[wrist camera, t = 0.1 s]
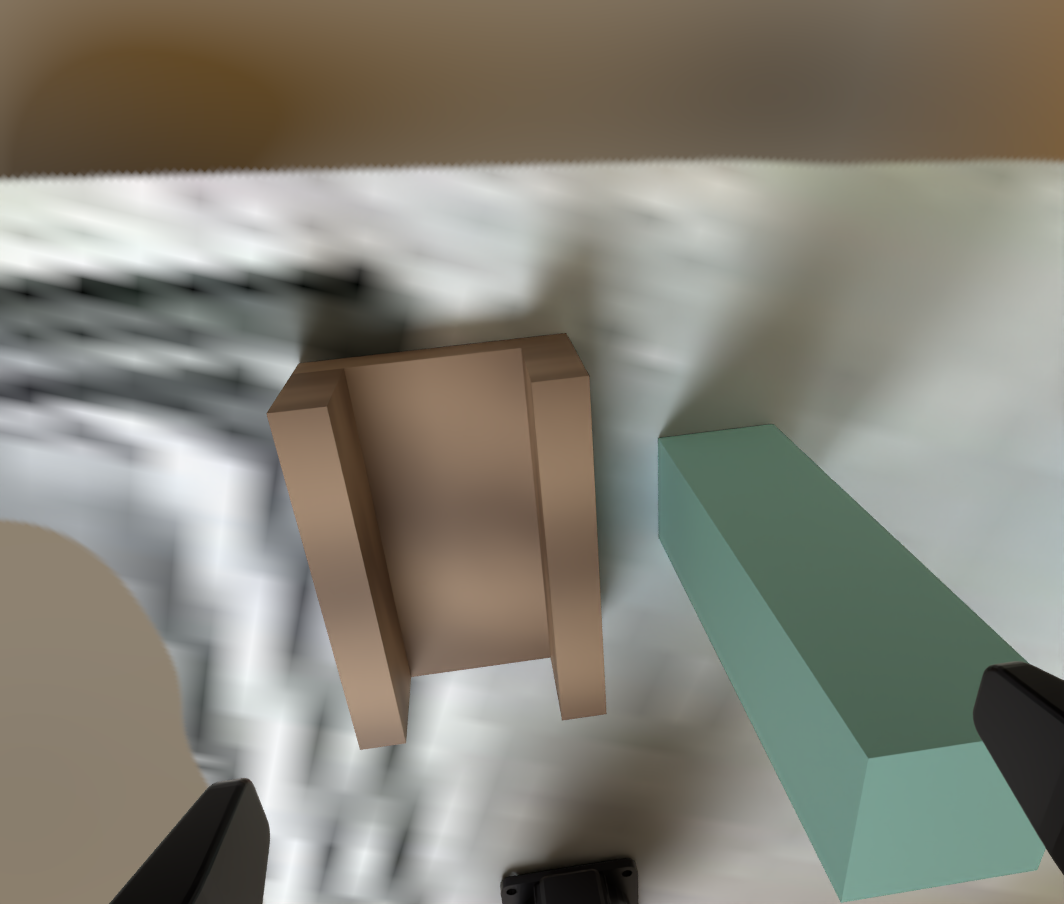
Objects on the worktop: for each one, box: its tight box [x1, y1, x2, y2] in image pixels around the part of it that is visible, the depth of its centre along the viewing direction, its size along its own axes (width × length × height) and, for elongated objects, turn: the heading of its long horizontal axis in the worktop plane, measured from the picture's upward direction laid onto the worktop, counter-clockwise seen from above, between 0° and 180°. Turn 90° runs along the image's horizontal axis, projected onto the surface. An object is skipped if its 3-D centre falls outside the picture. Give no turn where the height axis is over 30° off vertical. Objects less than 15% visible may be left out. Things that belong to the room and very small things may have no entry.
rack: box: [267, 333, 606, 750], centre depth 22 cm, size 12×8×4 cm
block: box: [658, 424, 1046, 903], centre depth 18 cm, size 4×4×13 cm
